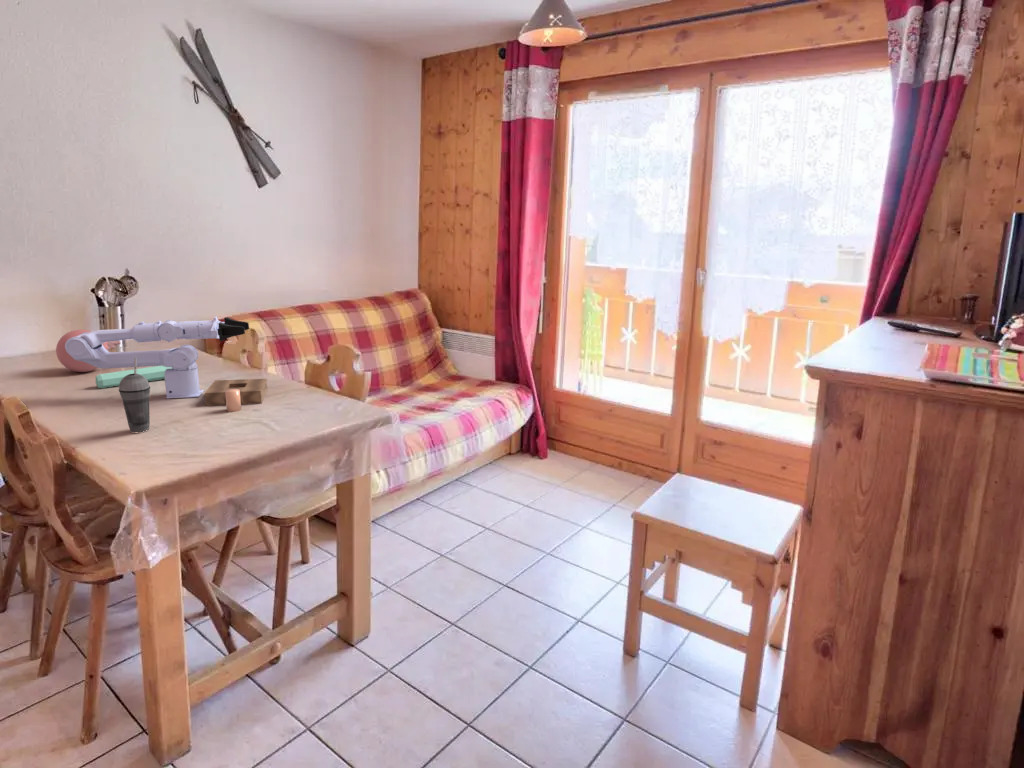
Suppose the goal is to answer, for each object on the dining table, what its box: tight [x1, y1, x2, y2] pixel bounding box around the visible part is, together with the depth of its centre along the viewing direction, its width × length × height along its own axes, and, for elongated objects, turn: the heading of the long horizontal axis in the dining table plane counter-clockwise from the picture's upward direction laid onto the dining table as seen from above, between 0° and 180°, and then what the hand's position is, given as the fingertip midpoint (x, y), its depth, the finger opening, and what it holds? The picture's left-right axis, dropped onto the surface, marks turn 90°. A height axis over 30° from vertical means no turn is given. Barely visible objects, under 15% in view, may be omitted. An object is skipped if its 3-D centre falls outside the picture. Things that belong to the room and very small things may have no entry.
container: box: [95, 366, 172, 389], centre depth 220 cm, size 6×6×25 cm
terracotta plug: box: [225, 389, 242, 413], centre depth 191 cm, size 4×4×6 cm
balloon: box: [55, 329, 121, 373], centre depth 233 cm, size 15×20×15 cm
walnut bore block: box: [204, 378, 269, 407], centre depth 204 cm, size 16×16×4 cm
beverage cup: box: [118, 357, 151, 433], centre depth 169 cm, size 7×7×20 cm
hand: (246, 328), depth 205 cm, fingers open, 7 cm apart
